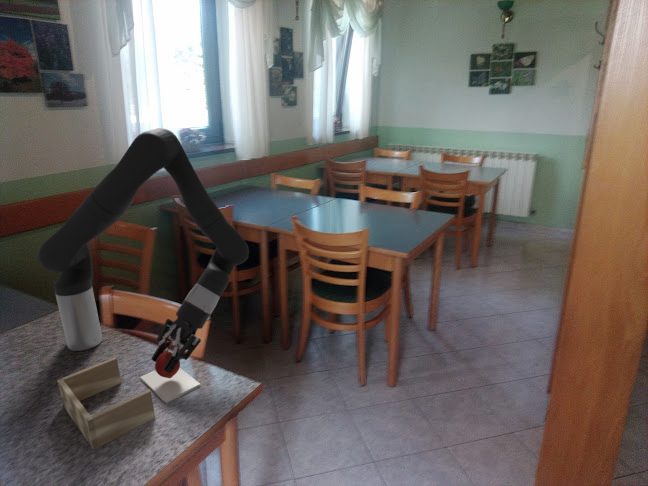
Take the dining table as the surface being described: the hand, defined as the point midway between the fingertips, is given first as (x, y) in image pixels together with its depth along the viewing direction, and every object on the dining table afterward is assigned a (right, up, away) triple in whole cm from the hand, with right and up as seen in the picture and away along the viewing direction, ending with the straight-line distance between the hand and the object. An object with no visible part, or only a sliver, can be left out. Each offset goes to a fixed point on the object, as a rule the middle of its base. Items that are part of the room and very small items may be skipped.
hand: (160, 365), depth 107 cm
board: (+1, -5, +3) cm, 6 cm away
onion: (+1, -4, +3) cm, 5 cm away
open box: (-9, -8, -7) cm, 14 cm away
